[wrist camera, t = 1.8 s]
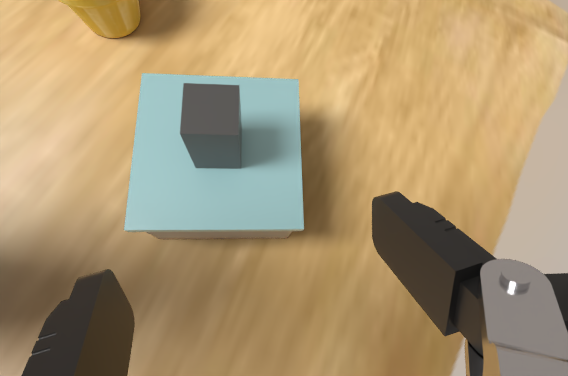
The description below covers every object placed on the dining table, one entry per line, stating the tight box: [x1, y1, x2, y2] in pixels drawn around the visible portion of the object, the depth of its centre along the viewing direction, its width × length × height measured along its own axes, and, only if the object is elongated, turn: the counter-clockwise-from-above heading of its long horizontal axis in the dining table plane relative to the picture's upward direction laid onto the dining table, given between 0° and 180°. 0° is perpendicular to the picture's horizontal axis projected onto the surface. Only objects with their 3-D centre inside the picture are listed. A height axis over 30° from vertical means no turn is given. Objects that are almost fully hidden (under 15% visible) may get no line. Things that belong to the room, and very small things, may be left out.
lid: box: [124, 73, 304, 232], centre depth 28 cm, size 15×15×9 cm
